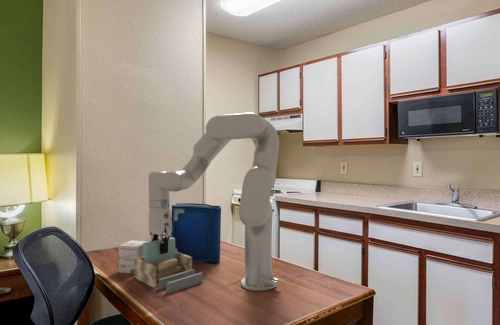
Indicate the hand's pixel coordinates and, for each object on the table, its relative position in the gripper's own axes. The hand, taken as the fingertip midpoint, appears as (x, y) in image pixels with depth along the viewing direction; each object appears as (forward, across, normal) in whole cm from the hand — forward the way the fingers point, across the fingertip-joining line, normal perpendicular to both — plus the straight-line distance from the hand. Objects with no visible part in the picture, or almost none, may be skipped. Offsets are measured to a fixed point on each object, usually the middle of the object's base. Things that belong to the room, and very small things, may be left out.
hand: (159, 251), depth 127 cm
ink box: (+10, +12, +4) cm, 17 cm away
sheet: (+9, 0, 0) cm, 9 cm away
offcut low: (+9, -5, 0) cm, 10 cm away
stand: (+10, -14, 0) cm, 18 cm away
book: (+10, +6, -21) cm, 24 cm away
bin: (+10, -2, 0) cm, 10 cm away
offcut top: (+5, -5, 0) cm, 7 cm away
